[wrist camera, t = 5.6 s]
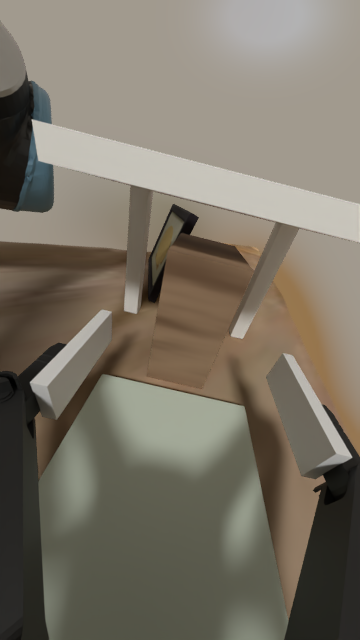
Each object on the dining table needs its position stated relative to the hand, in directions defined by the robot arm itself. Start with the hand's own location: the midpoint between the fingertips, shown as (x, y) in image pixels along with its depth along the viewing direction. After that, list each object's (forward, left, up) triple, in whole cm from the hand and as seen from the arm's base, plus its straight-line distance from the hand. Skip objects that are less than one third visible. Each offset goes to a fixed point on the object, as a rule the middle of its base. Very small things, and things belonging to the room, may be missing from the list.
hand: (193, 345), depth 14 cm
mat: (+6, -4, -7) cm, 10 cm away
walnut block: (-6, +3, -7) cm, 9 cm away
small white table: (-7, +3, -7) cm, 10 cm away
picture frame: (-29, +10, -7) cm, 31 cm away
